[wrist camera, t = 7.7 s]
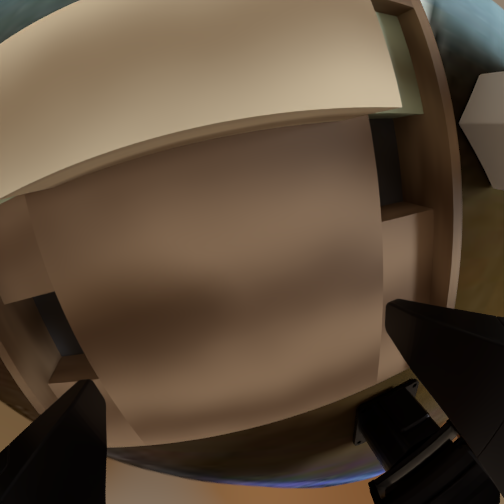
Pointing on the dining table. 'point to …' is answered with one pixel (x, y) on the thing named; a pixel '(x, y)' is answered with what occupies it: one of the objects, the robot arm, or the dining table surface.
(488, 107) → the milk carton
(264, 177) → the open tray box
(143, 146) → the cream rectangular block
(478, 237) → the dining table surface
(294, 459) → the dining table surface
